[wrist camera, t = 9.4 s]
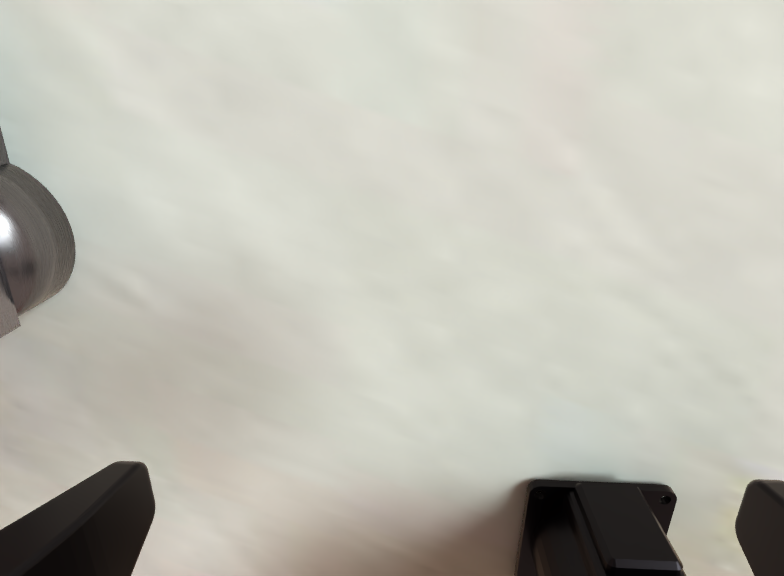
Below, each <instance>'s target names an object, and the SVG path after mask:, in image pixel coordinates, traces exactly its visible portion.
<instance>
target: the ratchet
mask: <svg viewBox="0 0 784 576" xmlns="http://www.w3.org/2000/svg"><path fill="white" fill-rule="evenodd" d="M0 255H1V258H2V262H3V265H4V269H5V272H6V276H7V279H8V283H9V287H10V290H11V294H12V297H13V301H14V304H15V308H16V311H17V315H18V316H19V315H21V314H23V313H24V312H26V311H28V310H30V309H31V308H33V307H35V306H37V305H38V304H40V303H42V302H44V301H45V300H47V299H49V298H51V297H52V296H54V295H55V294H56V293H58V292H59V291H60V290H61V289H62V288H63V287H64V286H65V284H66V283H67V281H68V280H69V278H70V276H71V273H72V271H73V267H74V263H75V242H74V236H73V232H72V229H71V226H70V224H69V221H68V219H67V217H66V215H65V213H64V211H63V209H62V208H61V206H60V205H59V203H58V202H57V200H56V199H55V198H54V197H53V195H52V194H51V193H50V192H49V191H48V190H47V189H46V188H45V187H44V186H43V185H42V184H41V183H40V182H39V181H38V180H36V179H35V178H34V177H32V176H31V175H30V174H28V173H27V172H25V171H24V170H22V169H20V168H19V167H17V166H14V165H12V164H10V163H9V159H8V155H7V151H6V147H5V143H4V139H3V136H2V132H1V128H0Z"/></svg>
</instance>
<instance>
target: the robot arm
mask: <svg viewBox="0 0 784 576" xmlns="http://www.w3.org/2000/svg"><path fill="white" fill-rule="evenodd" d="M537 491H542V492H539V493H536V492H537ZM663 496H664V497H663ZM661 497H663V498H661ZM676 501H677V497H676V495H675V494H674V492H673V490H672V489H671V488H670V487H669V486H667V485H656V484H632V483H608V482H584V481H559V480H535V481H532V482H531V483H530V484H529V485H528V487H527V493H526V500H525V506H524V513H523V520H522V526H521V533H520V540H519V547H518V553H517V560H516V567H515V574H514V576H686V574H685V572H684V571H683V565H682V562H681V561H680V559H679V557H678V555H677V554H676V552H675V550H674V548H673V547H672V545H671V543H670V541H669V540H668V538H667V536H666V535H667V532H668V528H669V525H670V521H671V518H672V515H673V511H674V508H675V504H676ZM154 514H155V500H154V495H153V491H152V486H151V482H150V477H149V473H148V469H147V467H146V465H145V464H144V463H142V462H134V461H119V462H115V463H113V464H111V465H109V466H107V467H106V468H104V469H102V470H101V471H99V472H97V473H96V474H94V475H92V476H91V477H89V478H87V479H86V480H84V481H82V482H80V483H79V484H77V485H75V486H74V487H72V488H70V489H69V490H67V491H65V492H64V493H62V494H60V495H59V496H57V497H55V498H54V499H52V500H50V501H49V502H47V503H45V504H44V505H42V506H40V507H38V508H37V509H35V510H33V511H32V512H30V513H28V514H27V515H25V516H23V517H22V518H20V519H18V520H17V521H15V522H13V523H12V524H10V525H8V526H7V527H5V528H3V529H2V530H0V576H131V574H132V572H133V569H134V567H135V564H136V562H137V559H138V557H139V554H140V552H141V549H142V546H143V544H144V541H145V539H146V536H147V534H148V531H149V529H150V526H151V524H152V521H153V518H154ZM735 529H736V535H737V538H738V541H739V543H740V545H741V547H742V550H743V552H744V554H745V556H746V558H747V560H748V563H749V565H750V567H751V569H752V571H753V573H754V576H784V481H780V480H753V481H751V482H750V483H749V484H748V485H747V487H746V490H745V493H744V497H743V500H742V503H741V506H740V509H739V512H738V515H737V518H736V523H735Z"/></svg>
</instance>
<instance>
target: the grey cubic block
mask: <svg viewBox="0 0 784 576" xmlns="http://www.w3.org/2000/svg"><path fill="white" fill-rule="evenodd" d="M19 326H21V325H20V322H19V318H18V315H17V311H16V308H15V304H14V301H13V297H12V294H11V290H10V287H9V283H8V279H7V276H6V272H5V269H4V265H3V262H2V258H1V255H0V338H1V337H3V336H4V335H6V334H8V333H9V332H11V331H13V330H14V329H16V328H18V327H19Z"/></svg>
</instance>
